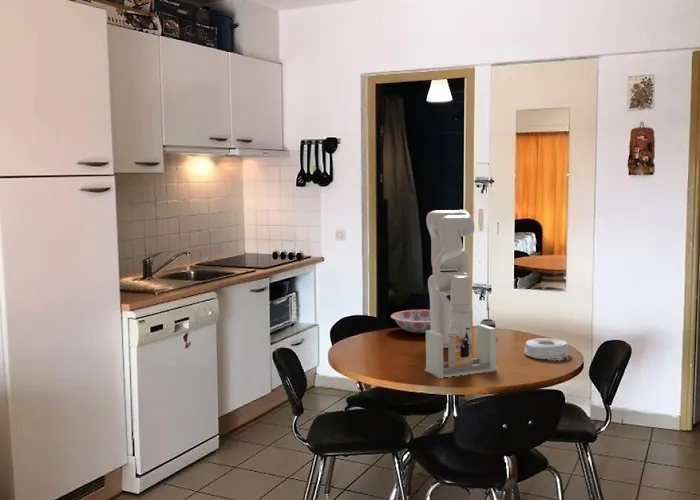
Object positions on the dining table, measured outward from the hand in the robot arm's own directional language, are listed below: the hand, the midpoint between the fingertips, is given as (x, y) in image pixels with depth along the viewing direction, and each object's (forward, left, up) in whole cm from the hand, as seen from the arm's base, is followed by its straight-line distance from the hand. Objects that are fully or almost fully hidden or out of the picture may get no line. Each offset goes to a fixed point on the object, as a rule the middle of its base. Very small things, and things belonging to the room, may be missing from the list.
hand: (460, 354), depth 274 cm
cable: (-5, +43, -7) cm, 44 cm away
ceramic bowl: (-68, +19, -7) cm, 71 cm away
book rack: (0, 0, -6) cm, 6 cm away
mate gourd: (-44, +40, -7) cm, 60 cm away
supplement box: (0, 0, -5) cm, 5 cm away
